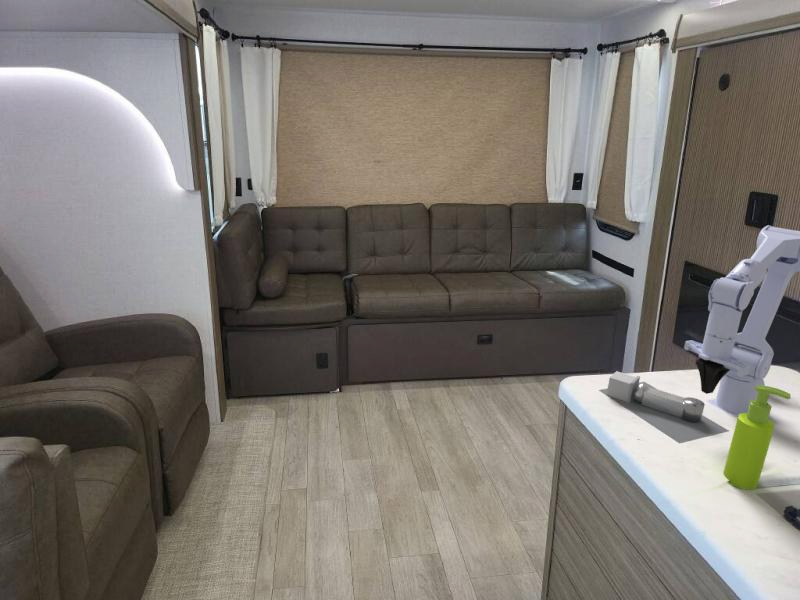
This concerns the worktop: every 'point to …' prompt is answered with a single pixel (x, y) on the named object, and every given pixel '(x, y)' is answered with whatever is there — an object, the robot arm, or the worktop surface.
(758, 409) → the soap dispenser
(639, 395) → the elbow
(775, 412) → the worktop surface
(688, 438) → the duct board
